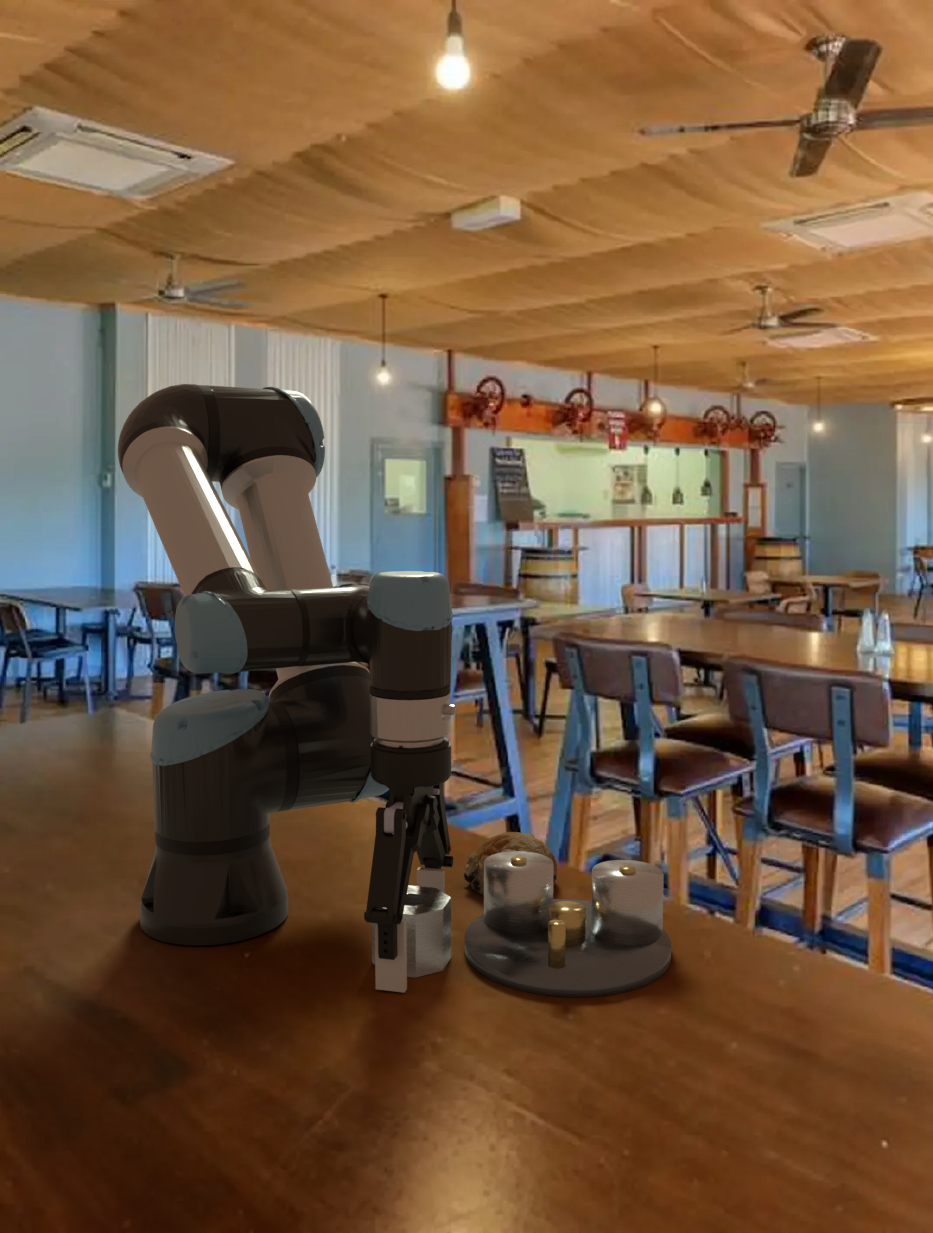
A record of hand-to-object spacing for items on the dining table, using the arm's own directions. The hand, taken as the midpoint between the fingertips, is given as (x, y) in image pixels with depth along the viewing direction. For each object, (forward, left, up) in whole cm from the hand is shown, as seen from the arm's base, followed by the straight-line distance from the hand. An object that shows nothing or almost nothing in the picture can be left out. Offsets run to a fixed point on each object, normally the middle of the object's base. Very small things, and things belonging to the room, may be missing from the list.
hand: (412, 958), depth 103 cm
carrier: (+14, +6, 0) cm, 15 cm away
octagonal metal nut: (0, 0, 0) cm, 0 cm away
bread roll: (+5, +22, -1) cm, 22 cm away
